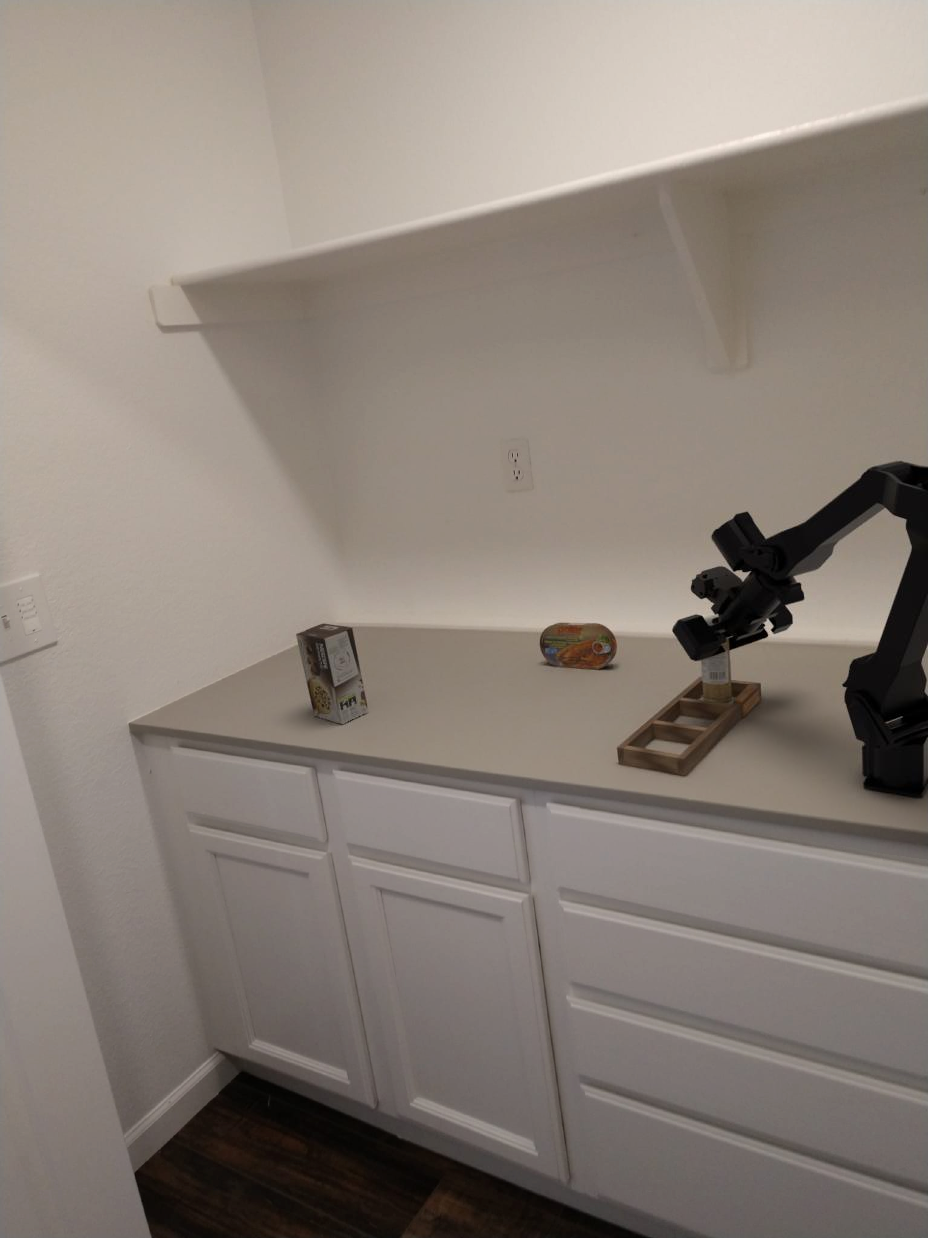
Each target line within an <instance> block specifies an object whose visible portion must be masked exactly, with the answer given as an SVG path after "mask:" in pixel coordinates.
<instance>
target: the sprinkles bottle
mask: <svg viewBox="0 0 928 1238" xmlns="http://www.w3.org/2000/svg"><path fill="white" fill-rule="evenodd" d="M702 616H703V618H704V619H705V621H706V622H707V623H708V625H710V626H712V625H714V624H713V623H712V622H711V620H712V619H714V618H717V617H719V615H718V614H716V615H715V614H714V613H709V614H703V615H702ZM722 647H723V648H724V649H725V651H726V652H724V653H721V654H718V655H715V656H713V657H710V658H707V659H704V660H701V661H700V665H701V668H700V670H701V677H702V683H703V695H702V696H701V698H702V700H705V701H713V702H721V703H729V702H731V701H732V700H733V697H732V694H731V680H732V668H731V667H732V666H731V662H732V661H731V655H730V654H731V650H729V638H727V639H726V643H725V644H723V645H722Z"/></svg>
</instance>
